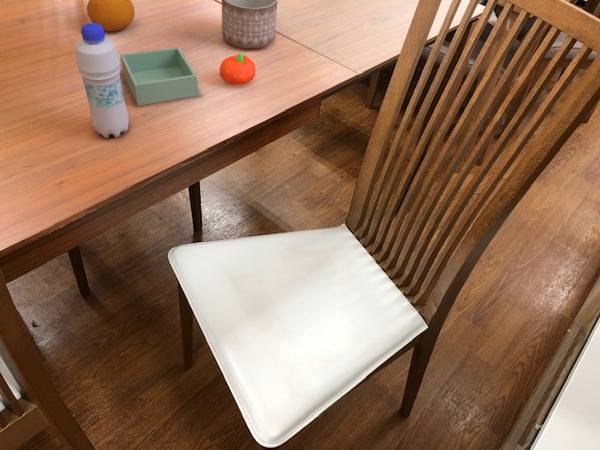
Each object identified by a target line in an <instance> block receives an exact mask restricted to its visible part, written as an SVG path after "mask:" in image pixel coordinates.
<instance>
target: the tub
mask: <svg viewBox="0 0 600 450" xmlns="http://www.w3.org/2000/svg"><path fill="white" fill-rule="evenodd" d="M119 56H120V64H121V69H122V73H123V77H124V79H125V82H126V84H127V85H128V87H129V90H130V92H131V95H132V97H133V98H134V100H135V103H136V104H137V105H136V106H137V107H139V106H146V105H152V104H157V103H163V102H170V101H176V100H181V99H187V98H194V97H198V96H199V87H198V75H197V73H196V72H195V70H194V69H193V67H192V65H191V64H190V62H189V61H188V59H187V58H186V56H185V54H184V53H183V51H182V50H181V48H180V46H177V47H170V48H169V47H168V48H162V49H161V48H159V49H153V50H146V51H145V50H144V51H137V52H129V53H122V54H119Z"/></svg>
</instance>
